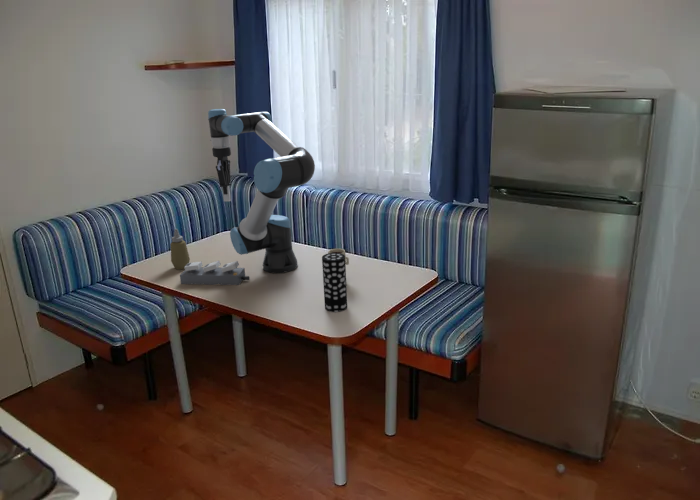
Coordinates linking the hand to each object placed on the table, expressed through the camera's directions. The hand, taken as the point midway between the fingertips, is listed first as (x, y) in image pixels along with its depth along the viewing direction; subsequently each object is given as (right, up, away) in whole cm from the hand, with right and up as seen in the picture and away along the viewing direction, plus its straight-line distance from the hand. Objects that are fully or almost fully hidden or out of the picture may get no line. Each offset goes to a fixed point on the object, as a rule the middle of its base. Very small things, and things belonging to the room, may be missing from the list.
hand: (227, 200), depth 254 cm
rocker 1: (-12, -28, -9) cm, 32 cm away
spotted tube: (+48, -43, -38) cm, 75 cm away
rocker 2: (-4, -28, -10) cm, 30 cm away
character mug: (+48, -34, -14) cm, 61 cm away
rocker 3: (+4, -28, -11) cm, 31 cm away
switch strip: (-3, -34, -8) cm, 35 cm away
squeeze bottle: (-22, -29, +8) cm, 38 cm away
